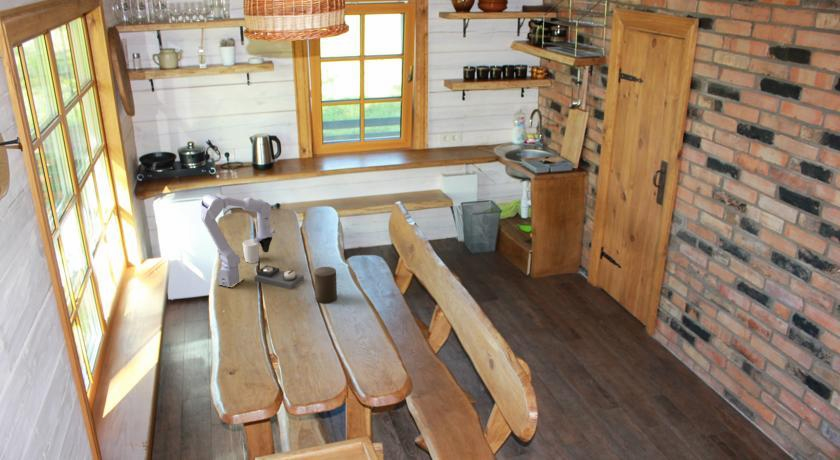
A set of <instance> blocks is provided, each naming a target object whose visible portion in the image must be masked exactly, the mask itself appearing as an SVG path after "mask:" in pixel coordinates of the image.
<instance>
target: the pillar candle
mask: <svg viewBox="0 0 840 460" xmlns="http://www.w3.org/2000/svg"><path fill="white" fill-rule="evenodd" d="M337 284H338V283H337V270H336V268H335V267H332V266H320V267H317V268H315V269H314V297H315V301H316V302H317V303H319V304H320V303H321V304H331V303H334V302H335V301H337V298H338V295H337V294H338V293H337V289H338V286H337Z"/></svg>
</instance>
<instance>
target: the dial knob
mask: <svg viewBox="0 0 840 460" xmlns="http://www.w3.org/2000/svg"><path fill="white" fill-rule="evenodd" d="M295 274H296V272H295V271H294V269H293V270H287V271H286V272H285V273H284V278H285V279H293V278H295Z"/></svg>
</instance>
